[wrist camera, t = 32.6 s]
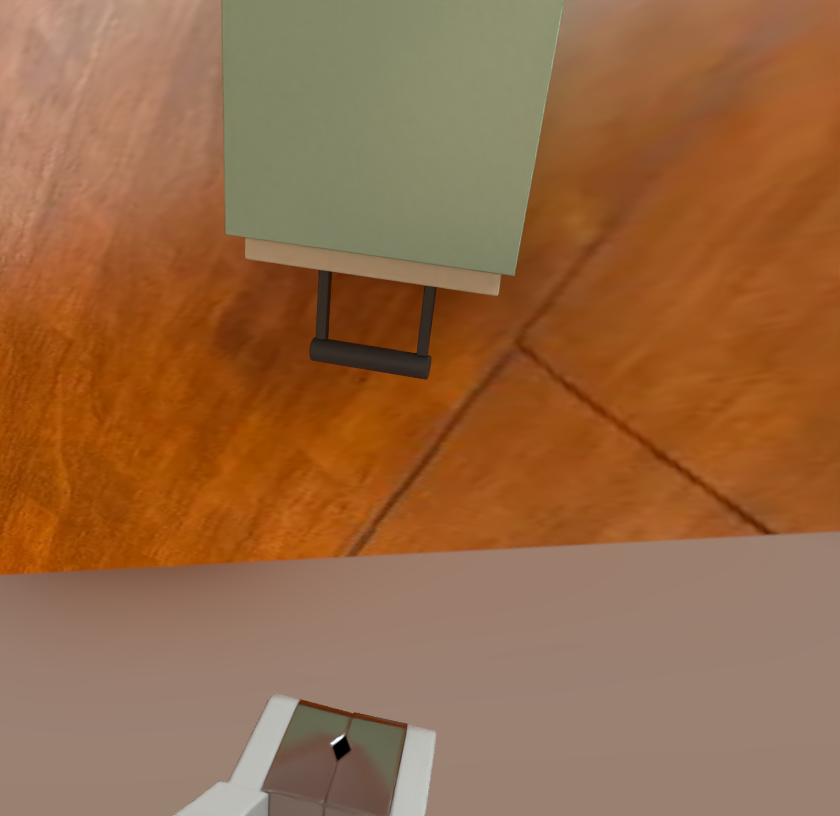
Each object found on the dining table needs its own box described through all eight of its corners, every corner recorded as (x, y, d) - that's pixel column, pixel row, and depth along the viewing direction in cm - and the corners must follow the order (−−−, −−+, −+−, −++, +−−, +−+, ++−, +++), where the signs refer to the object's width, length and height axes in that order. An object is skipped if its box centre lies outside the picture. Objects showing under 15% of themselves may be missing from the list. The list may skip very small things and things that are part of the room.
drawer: (486, 363, 36) (479, 401, 29) (293, 332, 37) (244, 362, 31) (553, -27, 28) (565, -97, 21) (304, -48, 29) (243, -120, 23)
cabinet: (514, 257, 34) (514, 276, 26) (292, 226, 36) (224, 234, 27) (573, -73, 28) (598, -190, 20) (301, -94, 29) (217, -210, 21)
